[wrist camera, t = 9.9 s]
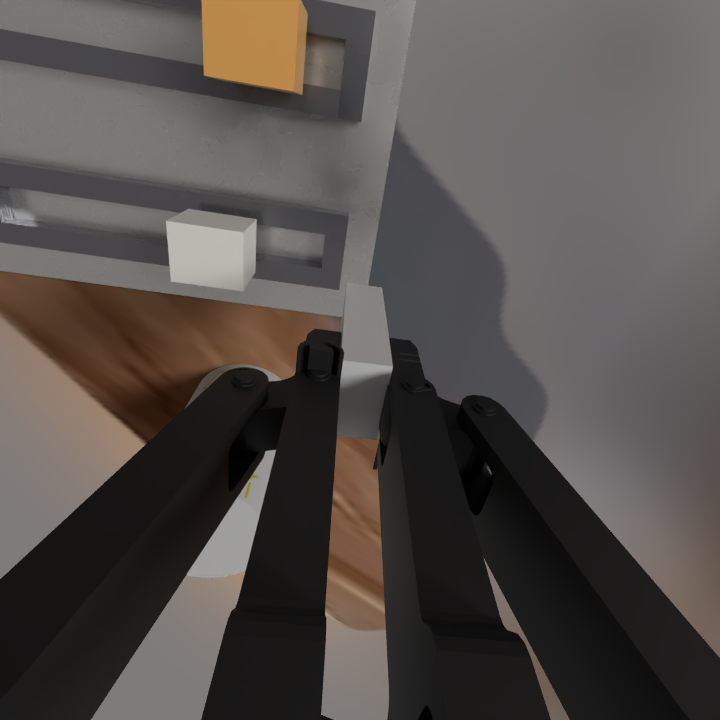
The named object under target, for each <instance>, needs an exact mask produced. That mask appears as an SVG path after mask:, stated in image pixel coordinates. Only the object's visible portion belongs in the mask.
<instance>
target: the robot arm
mask: <svg viewBox="0 0 720 720" xmlns="http://www.w3.org/2000/svg"><path fill="white" fill-rule="evenodd" d="M379 430H380V440H379V444H378V449H377V453H376V457H375V462H374V466H373V469H377V466H378V480H379V500H380V520H381V539H382V559H383V579H384V599H385V618H386V638H387V657H388V678H389V711H388V719H387V720H551V719H550V716H549V713H548V710H547V707H546V704H545V701H544V698H543V695H542V691H541V688H540V685H539V682H538V679H537V676H536V673H535V669H534V666H533V663H532V660H531V657H530V655H529V652H528V650H527V647H526V645H525V643H524V641H523V640H522V639H521V638H520V636H519V635H518V634H517V633H514V632H511V631H508V630H507V629H506V628H505V627H504V625H503V623H502V621H501V618H500V615H499V611H498V608H497V604H496V601H495V597H494V594H493V590H492V586H491V583H490V580H489V576H488V572H487V569H486V565H485V562H484V559H485V561H486V563H487V564H488V566H489V568H490V570H491V572H492V574H493V576H494V578H495V579H496V581H497V583H498V585H499V587H500V589H501V591H502V593H503V595H504V596H505V598H506V600H507V602H508V604H509V606H510V608H511V610H512V611H513V613H514V615H515V617H516V619H517V621H518V623H519V625H520V627H521V628H522V630H523V632H524V634H525V636H526V638H527V640H528V642H529V644H530V645H531V647H532V649H533V651H534V653H535V655H536V656H537V659H538V660H539V662H540V664H541V666H542V668H543V670H544V672H545V674H546V676H547V677H548V679H549V681H550V683H551V685H552V687H553V689H554V691H555V692H556V694H557V696H558V698H559V700H560V702H561V704H562V706H563V708H564V709H565V711H566V713H567V715H568V717H569V719H570V720H720V658H719V657H718V655H717V654H716V653H715V652H714V651H713V650H712V649H711V647H710V646H709V645H708V644H707V643H706V642H705V640H704V639H703V638H702V637H701V636H700V635H699V634H698V632H697V631H696V630H695V629H694V628H693V626H692V625H691V624H690V623H689V622H688V621H687V620H686V618H685V617H684V616H683V615H682V614H681V612H680V611H679V610H678V609H677V608H676V607H675V606H674V604H673V603H672V602H671V601H670V600H669V599H668V597H667V596H666V595H665V594H664V593H663V592H662V590H661V589H660V588H659V587H658V586H657V585H656V584H655V582H654V581H653V580H652V579H651V578H650V576H649V575H648V574H647V573H646V572H645V571H644V570H643V568H642V567H641V566H640V565H639V564H638V563H637V561H636V560H635V559H634V558H633V557H632V556H631V554H629V552H628V551H627V550H626V549H625V547H624V546H623V545H622V544H621V543H620V542H619V541H618V539H617V538H616V537H615V536H614V535H613V534H612V532H610V530H609V529H608V528H607V527H606V525H605V524H604V523H603V522H602V521H601V520H600V518H599V517H598V516H597V515H596V514H595V513H594V511H593V510H592V509H591V508H590V507H589V506H588V504H587V503H586V502H585V501H584V500H583V499H582V498H581V497H580V495H579V494H578V493H577V492H576V491H575V489H574V488H573V487H572V486H571V485H570V484H569V482H568V481H567V480H566V479H565V478H564V477H563V476H562V474H561V473H560V472H559V471H558V470H557V469H556V467H555V466H554V465H553V464H552V463H551V462H550V460H549V459H548V458H547V457H546V456H545V455H544V453H543V452H542V451H541V450H540V449H539V448H538V446H537V445H536V444H535V443H534V442H533V441H532V439H531V438H530V437H529V436H528V435H527V434H526V432H525V431H524V430H523V429H522V428H521V427H520V426H519V424H518V423H517V422H516V421H515V420H514V419H513V417H512V416H511V415H510V414H509V413H508V412H507V410H506V409H505V408H504V407H503V406H502V405H500V404H499V403H498V402H496V401H494V400H492V399H491V398H488V397H485V396H479V395H471V396H466V397H465V398H463V399H462V402H461V405H459V404H455V403H452V402H449V401H446V400H444V399H441V398H440V397H438V396H437V393H436V389H435V388H434V386H433V384H431V383H430V382H429V381H428V380H426V379H425V377H424V373H423V369H422V365H421V363H420V358H419V354H418V350H417V347H416V346H415V345H414V344H413V343H412V342H411V341H409V340H402V339H395V338H389V335H388V328H387V320H386V313H385V306H384V299H383V292H382V288H381V287H374V286H367V285H360V284H353V283H347V285H346V292H345V299H344V306H343V313H342V321H341V328H340V332H335V331H328V330H320V329H314V330H312V331H311V332H310V333H309V334H307V338H306V341H304V342H302V343H300V345H299V346H298V351H297V363H296V373H295V375H294V376H292V377H290V378H288V379H285V380H279V381H269V379H268V376H267V375H266V374H265V373H264V372H262V371H260V370H257V369H255V368H249V367H239V368H234V369H231V370H228V371H226V372H225V373H223V374H222V375H221V376H219V377H218V378H217V379H216V380H215V381H214V382H213V383H212V384H211V385H210V386H209V387H208V388H207V389H205V390H204V391H203V392H202V393H201V394H200V395H199V396H198V397H197V398H196V399H195V400H194V401H192V402H191V403H190V404H189V405H188V406H187V407H186V408H185V409H184V410H183V411H182V412H181V413H179V414H178V415H177V416H176V417H175V418H174V419H173V420H172V421H171V422H170V423H169V424H168V425H167V426H165V427H164V428H163V429H162V430H161V431H160V432H159V433H158V434H157V435H156V436H155V437H154V438H152V439H151V440H150V441H149V442H148V443H147V444H146V445H145V446H144V447H143V448H142V449H141V450H140V451H138V452H137V454H135V455H134V456H133V457H132V458H131V459H130V460H129V461H128V462H127V463H126V464H124V465H123V466H122V467H121V468H120V469H119V470H118V471H117V472H116V473H115V474H114V475H113V476H112V477H110V478H109V479H108V480H107V481H106V482H105V483H104V484H103V485H102V486H101V487H100V488H99V489H97V491H95V492H94V493H93V494H92V495H91V496H90V497H89V498H88V499H87V500H85V502H83V503H82V504H81V505H80V506H79V507H78V508H77V509H76V510H75V511H74V512H73V513H72V514H70V515H69V516H68V517H67V518H66V519H65V520H64V521H63V522H62V523H61V524H60V525H58V527H57V528H55V529H54V530H53V531H52V532H51V533H50V534H49V535H48V536H47V537H46V538H44V539H43V540H42V541H41V542H40V543H39V544H38V545H37V546H36V547H35V548H34V549H33V550H31V551H30V552H29V553H28V554H27V555H26V556H25V557H24V558H23V559H22V560H21V561H20V562H19V563H17V565H15V566H14V567H13V568H12V569H11V570H10V571H9V572H8V573H7V574H6V575H5V576H3V577H2V578H1V579H0V720H91V718H92V717H93V715H94V714H95V712H96V711H97V709H98V708H99V706H100V705H101V703H102V702H103V700H104V699H105V697H106V696H107V694H108V692H109V691H110V690H111V688H112V687H113V685H114V684H115V682H116V680H117V679H118V678H119V676H120V674H121V673H122V671H123V670H124V669H125V667H126V665H127V664H128V662H129V661H130V659H131V658H132V656H133V655H134V653H135V652H136V650H137V649H138V647H139V646H140V644H141V643H142V641H143V640H144V638H145V637H146V635H147V634H148V632H149V631H150V629H151V628H152V626H153V624H154V623H155V622H156V620H157V618H158V617H159V615H160V614H161V612H162V611H163V609H164V608H165V606H166V605H167V603H168V602H169V600H170V599H171V597H172V596H173V594H174V593H175V591H176V590H177V588H178V587H179V585H180V584H181V582H182V581H183V579H184V577H185V576H186V575H187V573H188V572H189V570H190V568H191V567H192V565H193V564H194V562H195V561H196V559H197V558H198V556H199V555H200V553H201V552H202V550H203V549H204V547H205V546H206V544H207V543H208V541H209V540H210V538H211V537H212V535H213V534H214V532H215V531H216V529H217V528H218V526H219V525H220V523H221V522H222V520H223V518H224V517H225V515H226V514H227V512H228V511H229V509H230V508H231V506H232V505H233V503H234V502H235V500H236V499H237V497H238V496H239V494H240V493H241V491H242V490H243V488H244V487H245V485H246V484H247V482H248V481H249V479H250V478H251V476H252V475H253V473H254V472H255V470H256V468H257V467H258V465H259V464H260V462H261V461H262V459H263V458H264V455H265V451H270V450H276V452H275V456H274V460H273V464H272V468H271V472H270V476H269V480H268V484H267V488H266V492H265V496H264V500H263V504H262V508H261V512H260V516H259V520H258V524H257V528H256V532H255V536H254V540H253V544H252V548H251V552H250V556H249V559H248V563H247V567H246V572H245V576H244V579H243V583H242V587H241V591H240V596H239V599H238V602H237V605H236V608H235V609H233V610H232V611H231V614H230V616H229V618H228V622H227V625H226V628H225V632H224V635H223V639H222V643H221V647H220V650H219V654H218V658H217V662H216V666H215V670H214V673H213V678H212V681H211V685H210V688H209V692H208V696H207V700H206V704H205V708H204V711H203V715H202V719H201V720H333V719H330V718H327V717H325V716H323V715H321V706H322V691H323V690H322V689H323V675H324V659H325V642H326V617H325V600H326V585H327V571H328V556H329V541H330V527H331V512H332V497H333V483H334V468H335V453H336V439H337V435H339V436H347V437H356V438H365V439H373V440H377V436H378V432H379ZM487 466H489V468H490V470H491V473H492V475H491V474H490V473H489V471H488V470H487ZM483 557H484V558H483Z"/></svg>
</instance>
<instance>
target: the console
mask: <svg viewBox="0 0 720 720" xmlns="http://www.w3.org/2000/svg"><path fill="white" fill-rule="evenodd" d="M301 1H302V3H303V5H304V7H305V9H306V11H307V13H308V19H307V33H306V48H305V63H304V77H303V92H302V95H299V94H293V93H288V92H282V91H277V90H271V89H265V88H260V87H254V86H248V85H243V84H237V83H232V82H226V81H222V80H218V79H215V78H211V77H207V76H204V63H203V33H202V2H201V0H0V271H6V272H13V273H21V274H28V275H36V276H43V277H50V278H58V279H65V280H72V281H80V282H87V283H94V284H102V285H109V286H117V287H124V288H131V289H139V290H146V291H153V292H161V293H168V294H176V295H183V296H190V297H198V298H205V299H212V300H220V301H227V302H234V303H242V304H249V305H257V306H264V307H271V308H279V309H286V310H293V311H301V312H308V313H316V314H323V315H330V316H338V317H342V313H343V306H344V299H345V292H346V285H347V283H353V284H360V285H367V286H368V282H369V276H370V271H371V265H372V259H373V253H374V247H375V241H376V235H377V229H378V223H379V217H380V211H381V205H382V199H383V193H384V188H385V182H386V176H387V170H388V164H389V158H390V152H391V146H392V140H393V134H394V128H395V122H396V116H397V110H398V104H399V98H400V93H401V87H402V81H403V75H404V69H405V63H406V57H407V51H408V45H409V39H410V33H411V27H412V21H413V15H414V10H415V4H416V0H301ZM187 209H193V210H200V211H206V212H213V213H220V214H226V215H233V216H239V217H246V218H252V219H257V226H256V267H255V274H254V275H253V277H252V278H251V280H250V281H249V283H248V284H247V286H246V288H245V289H244V291H236V290H229V289H222V288H215V287H207V286H200V285H193V284H186V283H178V282H171V277H170V265H169V252H168V240H167V228H166V221H167V220H168V219H170V218H172V217H174V216H176V215H178V214H180V213H181V212H183V211H185V210H187Z"/></svg>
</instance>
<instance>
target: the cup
mask: <svg viewBox="0 0 720 720" xmlns="http://www.w3.org/2000/svg"><path fill="white" fill-rule="evenodd" d="M239 367H249V368H255V369H257V370H260V371H262V372H264V373H265V374H266V375H267V376H268V379H269V381H279V380H281V379H280V378H279V377H277V376H276V375H275V374H273V373H271V372H269V371H268V370H265V369H263V368H260V367H257V366H253V365H247V364H231V365H226V366H222V367H219V368H217V369H215V370H213V371H211V372H210V373H209V374H207V375H206V376H205V377H204V378H203V379H202V381H201V382H200V384H199V385H198V387H197V389H196V390H195V392H194V394H193V395H192V397H191V399H190V401H189V402H188V404H187V406H188V405H189V404H190V403H191V402H192V401H194V400H195V399H196V398H197V397H198V396H199V395H200V394H201V393H202V392H203V391H204V390H205V389H207V388H208V387H209V386H210V385H211V384H212V383H213V382H214V381H215V380H216V379H217V378H218V377H219V376H221V375H222V374H223V373H225V372H226V371H228V370H231V369H234V368H239ZM187 406H186V407H187ZM186 407H185V408H186ZM275 452H276V450H270V451H265V455H264V458H263V459H262V461H261V462H260V464H259V465H258V467H257V468H256V470H255V472H254V473H253V475H252V476H251V478H250V479H249V481H248V482H247V484H246V485H245V487H244V488H243V490H242V491H241V493H240V494H239V496H238V497H237V499H236V500H235V502H234V503H233V505H232V506H231V508H230V509H229V511H228V512H227V514H226V515H225V517H224V518H223V520H222V522H221V523H220V525H219V526H218V528H217V529H216V531H215V532H214V534H213V535H212V537H211V538H210V540H209V541H208V543H207V544H206V546H205V547H204V549H203V550H202V552H201V553H200V555H199V556H198V558H197V559H196V561H195V562H194V564H193V565H192V567H191V568H190V570H189V572H188V573H187V575H188V576H194V577H206V578H213V577H224V576H230V575H235V574H238V573H241V572H244V571H246V567H247V563H248V559H249V556H250V552H251V548H252V544H253V540H254V536H255V532H256V528H257V524H258V520H259V516H260V512H261V508H262V504H263V500H264V496H265V492H266V488H267V484H268V480H269V476H270V472H271V468H272V464H273V460H274V456H275Z"/></svg>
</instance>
